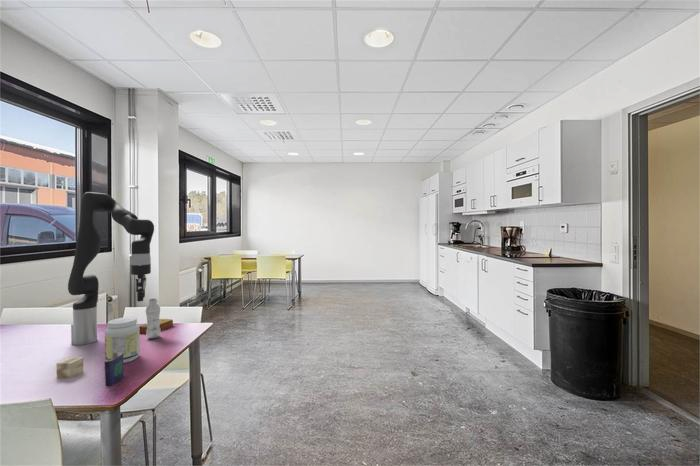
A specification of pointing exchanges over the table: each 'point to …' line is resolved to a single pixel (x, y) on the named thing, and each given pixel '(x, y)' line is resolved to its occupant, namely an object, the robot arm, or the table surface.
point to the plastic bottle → (153, 319)
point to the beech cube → (69, 367)
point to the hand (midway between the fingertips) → (141, 299)
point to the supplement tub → (122, 338)
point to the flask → (114, 369)
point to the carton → (163, 323)
